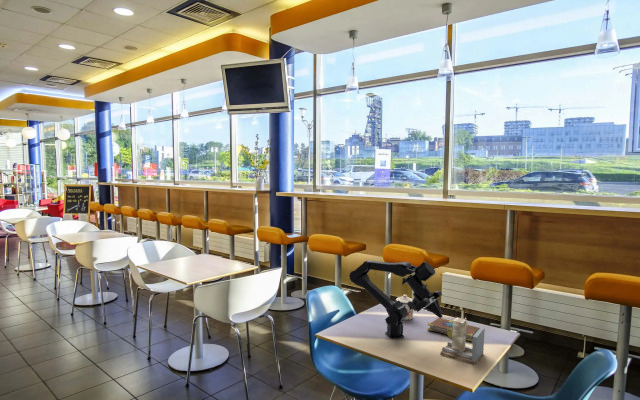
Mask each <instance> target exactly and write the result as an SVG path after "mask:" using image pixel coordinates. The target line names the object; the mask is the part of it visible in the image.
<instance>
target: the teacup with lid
mask: <svg viewBox="0 0 640 400" xmlns="http://www.w3.org/2000/svg"><path fill="white" fill-rule="evenodd" d="M413 299H414V298H412V297H411V298H410V297H409V296H408V295H407V294H402V295H401V296H399V297H397V298H396V299H395V302H397V301H398V300H399V301H400V302H401V303H402V304H403V305H405V306H406V307H405V308H406V309H407V310H408V315H407V317H406V318H404V320H403V321H408V319H409V320H413V318H414V310H413V309H411V310H410V308H409V306H408V305H407V303H408V301H412V300H413Z"/></svg>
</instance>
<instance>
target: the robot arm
mask: <svg viewBox="0 0 640 400" xmlns="http://www.w3.org/2000/svg"><path fill="white" fill-rule="evenodd" d="M371 270H372V271H378V272H387V273H391V274H393V275H395V276H398V277H401V278H402V277H403V278H402V283H401V285H402V286H403V285H406V284H407V285H408V287H409V288H410V289H411V290H412V292H413V293H412V295H413V297H414V298H412V299H413V300H412V301H408V303H407V305H408V306H409V308H410V310H411V309H413V312H417V313H419V312H420V311H421V310H422V309H423V310H424V311H430V312H431V313H432V314H434V315H435V316H436V317H438V318H442V319H443V317H444V316H443V314H442V309H441V305H440V297H441V296H442V295H443V293H442V292H441V291H440V290H435V291H432V292H431V291H430V290H429V288H428V284H425V283H424V282H427V281H428V280H429V279H430V278H432V277H433V276H434V275H435V274H436V270H435V268H434V267H433V266H432V265H431V264H429V263H428V262H427V261H423V262H422V263H421V264H420V265H418V266H416V265H413V264H411V263H410V262H409V261H400V262H387V261H385V262H384V261H376V260H372V259H368V260H365V261H363V263H362V264H360V265H359V266H358V267H357V268H355V269H354V270H351V271H350V272H349V280H350V282H351V283H353V284H354V285H356V286H358V287H361V288H363V290H364V289H365V290H366V292H368V294H370V295H371V296H372V297H373V299H375V300H376V301H377V302H378V303H379V304H380V305H381V306H383V308H385V310H386V313H387V315H388V316H387V317H386V318H385V319H384V320H385V323H386V326H387V327H386V331H385V332H384V333H385V335H387V336H388V337H390V338H391V339H399V338H404V337H405V335H404V324H403V321H405V320H404V318H406V317H407V315H408V310H407V309H406V308H405V307H406V306H405V305H403V304H402V303H401V302H400V301H399V300H398V301H397V302H396V301H394V300H392V299H391V298H390V296H388V294H386V293H384V292H383V290H381V289H380V288H379V287H378V286H377V285H376V284H375V283H373V282H372V281H371V279H370V276H369V274H368V273H369V272H370V271H371ZM406 276H407V277H406Z"/></svg>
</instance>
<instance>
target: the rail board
mask: <svg viewBox="0 0 640 400" xmlns="http://www.w3.org/2000/svg"><path fill="white" fill-rule="evenodd" d="M439 353H440V355H441V356H444V357H448V358H451V359H454V360H457V361H461V362H465V363H468V364H471V365H477V363H478V362H479V361H480V359H481V358H482V356H483V355H484V352H483V353H482V354H481V356H480V357H479V358H478V360H477V361H476V362H473V361H472V346H471V347H470V346H467V345H465V351H464V352H460V351H457V350H453V349H452V341H447V344H446V346H442V349H441V351H440V352H439Z"/></svg>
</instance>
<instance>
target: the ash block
mask: <svg viewBox="0 0 640 400" xmlns="http://www.w3.org/2000/svg"><path fill="white" fill-rule="evenodd" d="M452 320H453V332H452V338H451V342H452V349H453V350H457V351H460V352H464V351H465V346H466V341H467V340H466V323H467V319H465V318H461V317H455V318H454V319H452Z"/></svg>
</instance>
